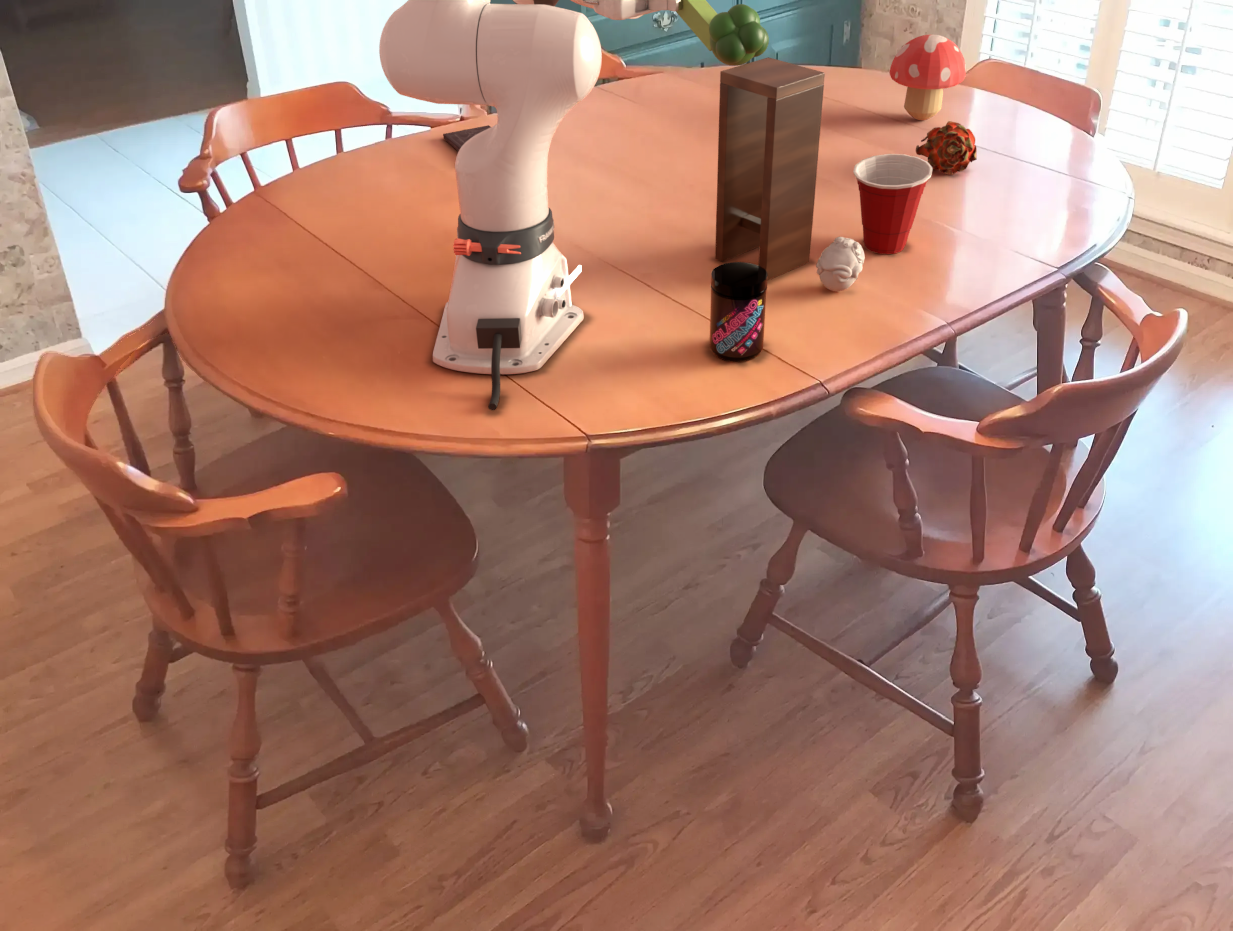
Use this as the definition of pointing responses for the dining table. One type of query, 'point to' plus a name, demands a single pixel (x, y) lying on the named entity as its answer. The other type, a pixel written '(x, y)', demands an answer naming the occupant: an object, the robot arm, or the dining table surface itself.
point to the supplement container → (737, 311)
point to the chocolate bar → (462, 136)
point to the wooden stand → (768, 162)
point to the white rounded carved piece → (840, 264)
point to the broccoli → (726, 31)
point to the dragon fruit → (949, 148)
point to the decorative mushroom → (927, 73)
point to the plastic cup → (890, 198)
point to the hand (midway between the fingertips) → (690, 2)
